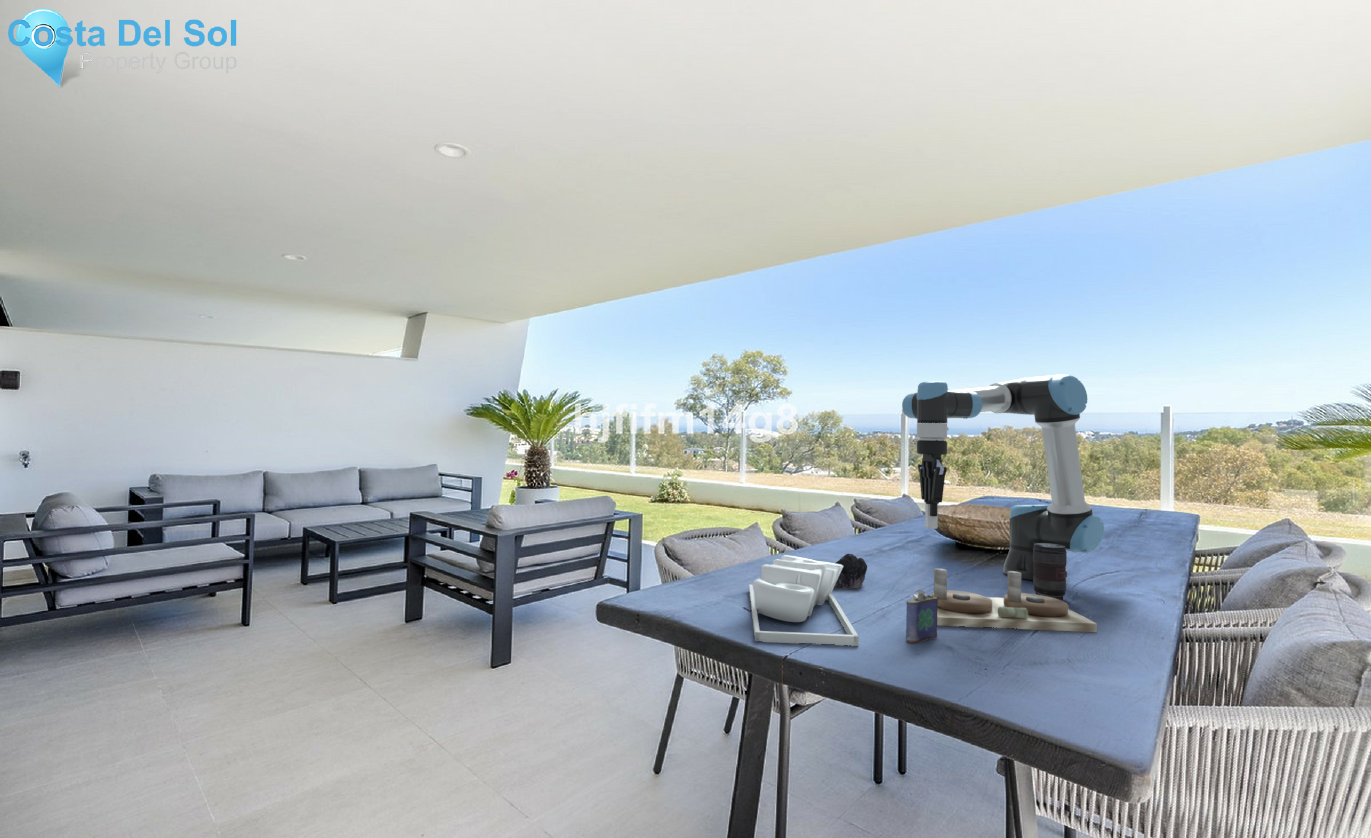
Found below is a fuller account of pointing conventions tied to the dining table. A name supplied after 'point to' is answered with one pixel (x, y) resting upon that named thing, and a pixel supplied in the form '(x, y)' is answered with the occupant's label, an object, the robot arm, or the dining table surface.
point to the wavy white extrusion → (794, 587)
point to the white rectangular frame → (806, 637)
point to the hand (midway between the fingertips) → (931, 528)
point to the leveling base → (1014, 619)
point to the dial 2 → (1032, 599)
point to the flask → (921, 618)
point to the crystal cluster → (851, 572)
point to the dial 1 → (958, 597)
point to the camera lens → (1049, 570)
